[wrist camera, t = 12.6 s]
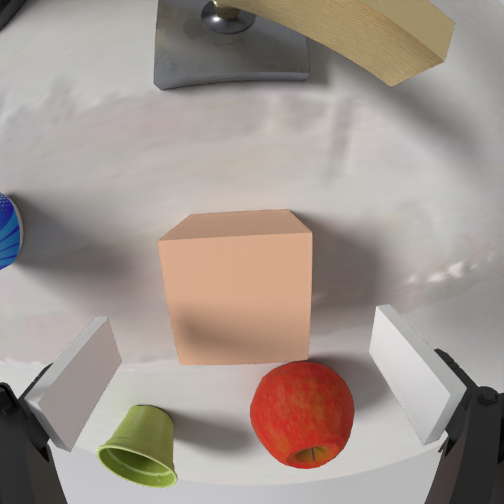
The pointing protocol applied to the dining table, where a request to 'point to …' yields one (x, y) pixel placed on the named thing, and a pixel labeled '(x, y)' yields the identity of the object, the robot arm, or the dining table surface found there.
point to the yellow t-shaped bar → (363, 30)
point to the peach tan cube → (239, 287)
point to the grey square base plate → (223, 47)
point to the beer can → (9, 231)
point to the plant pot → (142, 448)
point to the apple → (302, 414)
